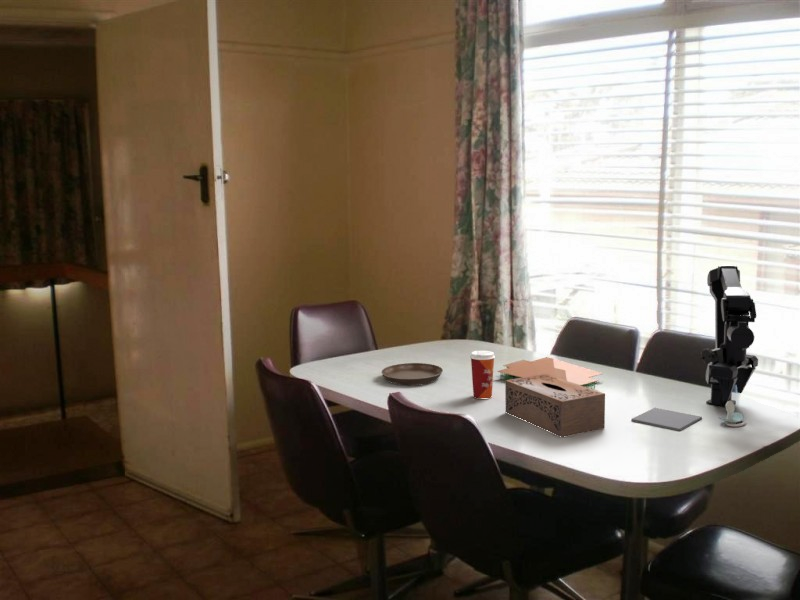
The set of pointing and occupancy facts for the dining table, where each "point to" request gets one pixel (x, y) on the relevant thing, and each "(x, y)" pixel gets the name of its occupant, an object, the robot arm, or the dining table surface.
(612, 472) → the dining table surface
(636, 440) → the dining table surface
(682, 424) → the mat
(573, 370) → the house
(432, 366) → the plant saucer
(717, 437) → the dining table surface
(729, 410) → the pacifier
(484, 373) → the paper cup
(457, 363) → the dining table surface
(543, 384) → the tissue box cover
